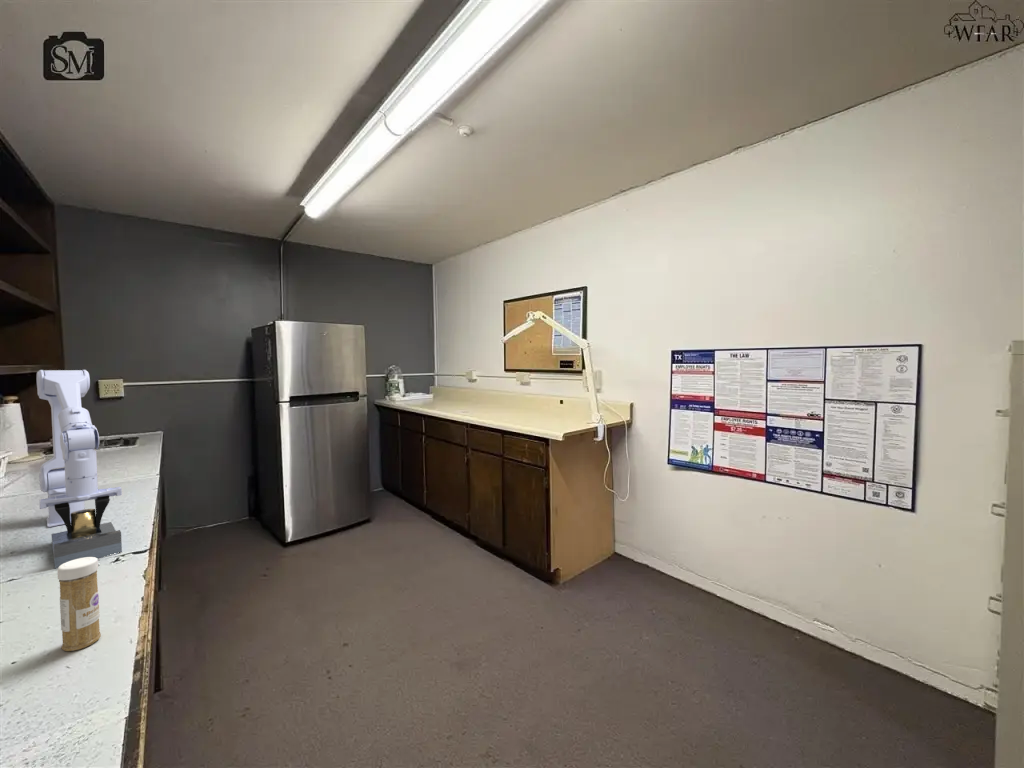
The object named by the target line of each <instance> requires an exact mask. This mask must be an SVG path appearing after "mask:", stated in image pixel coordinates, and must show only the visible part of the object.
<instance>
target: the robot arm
mask: <svg viewBox="0 0 1024 768" xmlns="http://www.w3.org/2000/svg"><path fill="white" fill-rule="evenodd" d="M90 377H91V376H90V373H89V371H87V369H82V370H81V369H79V370H78V369H75V370H74V369H73V370H72V369H71V370H69V369H68V370H66V369H64V370H63V369H62V370H61V369H58V370H57V369H56V370H52V369H49V370H47V369H45V370H44V369H39V370H37V372H36V388H37V389H36V390H37V396H38V398H39V399H41V400H46V401H48V403H49V405H50V408H51V409H50V412H51V427H52V428H51V429H52V433H51V434H52V449H53V457H52V458H50V459H48V460H47V461H45V462H44V463H42V464H41V465H40V466H39V476H38V477H39V479H38V480H39V488H40V491H41V492H43V494H46V493H47V497H46V498H41V499H38V500H39V509H40V510H42V509H47V508H48V517H47V518H46V526H47V528H51V527H56V526H61V525H65V528H66V531H67V532H68V533H72V528H71V513H72V512H75V511H79V510H84V509H86V506H85V505H86V503H85V502H86V501H92V500H94V507H95V508H94V509H95V516H96V528H98V527H100V524H101V522H102V519H103V516H104V513H105V510H106V509H107V507H108V506H109V503H110V500H111V499H110V497H114V496H115V497H119V496H122V494H123V493H122V492H123V491H122V487H121V486H117V487H109V488H99V487H98V486H99V484H98V483H99V482H98V459H97V458H98V457H97V450H99V446H100V434H99V432H98V431H99V430H98V429H97V426H95V424H94V425H93V423H92V418H91V415H90V412H89V410H88V409H86V408H85V407H82V398H85V396H86V395H87V393H88V391H89V390H90V386H91V379H90ZM95 449H96V450H95Z"/></svg>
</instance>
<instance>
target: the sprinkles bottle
mask: <svg viewBox="0 0 1024 768" xmlns="http://www.w3.org/2000/svg"><path fill="white" fill-rule="evenodd" d="M98 559H99V558H98ZM98 559H97V558H95V557H84V558H79V559H75V560H71V561H68V562H66V563H64V564H62V565H60V566H59V567H58V568H57V580H58V582H59V595H60V596H59V609H60V630H61V634H62V635H61V636H62V645H61V649H62V650H63V651H64V652H72V651H78V650H82V649H84V648H86V647H89V646H91V645H93V644H94V643H96V642H98V640H99V639H101V636H102V635H101V634H102V633H101V630H100V600H99V599H100V598H99V597H100V596H99V589H98V569H99V560H98Z"/></svg>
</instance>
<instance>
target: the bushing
mask: <svg viewBox="0 0 1024 768" xmlns="http://www.w3.org/2000/svg"><path fill="white" fill-rule="evenodd" d="M71 528H72V533H71V534H72V539H73V538H78V537H82V536H87V535H92V534H96V508H85V509H84V510H79V511H75V512H72V513H71Z"/></svg>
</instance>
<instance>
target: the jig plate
mask: <svg viewBox="0 0 1024 768" xmlns="http://www.w3.org/2000/svg"><path fill="white" fill-rule="evenodd" d="M51 546H52V548H51V549H52V555H53V565H54V566H55V567H54V570H56V568H57V569H58V567H59V566H60V565H62V564H64V563H66V562H68V561H71V560H75V559H79V558H84V557H95V558H98V559H100V558H101V557H102V558H105V557H104V556H106V557H108V556H107V555H110V554H114V553H118V552H122V553H123V549H122V548H123V546H122V531H121V529H118V530H116V529H115V526H114V524H113V523H112V521H109V522H104V523H100V527H98V528H96V534H92V535H87V536H82V537H78V538H73V539H72V534H71V533H68V532H67V530H65V531H60V532H55V533H51ZM118 554H119V553H118ZM114 555H115V554H114ZM110 556H111V555H110ZM102 558H101V559H102Z"/></svg>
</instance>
